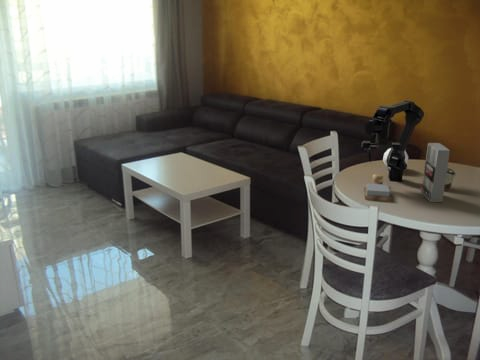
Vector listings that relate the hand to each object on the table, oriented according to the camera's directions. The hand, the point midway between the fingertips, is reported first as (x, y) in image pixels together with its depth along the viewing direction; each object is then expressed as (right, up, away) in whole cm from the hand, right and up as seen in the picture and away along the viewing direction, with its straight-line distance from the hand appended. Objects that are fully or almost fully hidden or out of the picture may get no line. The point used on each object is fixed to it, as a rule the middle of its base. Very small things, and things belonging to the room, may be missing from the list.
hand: (379, 162), depth 241 cm
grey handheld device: (+21, -17, -13) cm, 30 cm away
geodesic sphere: (+17, -3, +29) cm, 33 cm away
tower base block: (-4, -17, -11) cm, 21 cm away
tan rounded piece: (0, -11, +4) cm, 12 cm away
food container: (+31, -13, +1) cm, 33 cm away
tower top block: (-5, -15, -12) cm, 20 cm away
